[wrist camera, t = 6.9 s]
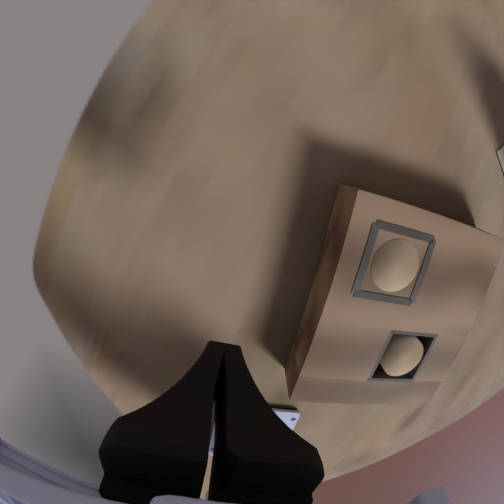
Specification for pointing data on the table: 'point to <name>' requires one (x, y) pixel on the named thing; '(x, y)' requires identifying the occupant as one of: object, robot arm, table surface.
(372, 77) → the table surface
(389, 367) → the peg
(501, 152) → the condiment
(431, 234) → the board
